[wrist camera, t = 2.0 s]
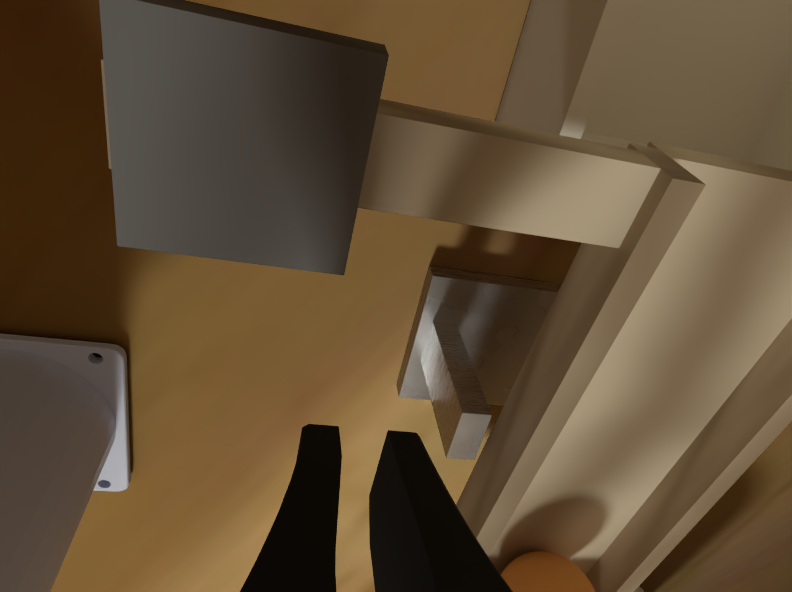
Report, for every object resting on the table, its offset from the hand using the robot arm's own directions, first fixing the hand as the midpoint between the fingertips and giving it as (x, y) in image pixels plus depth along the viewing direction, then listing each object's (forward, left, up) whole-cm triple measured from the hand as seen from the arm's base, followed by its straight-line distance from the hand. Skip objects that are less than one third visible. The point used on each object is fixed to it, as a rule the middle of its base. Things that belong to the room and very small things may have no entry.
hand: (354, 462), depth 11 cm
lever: (+4, -3, -5) cm, 7 cm away
